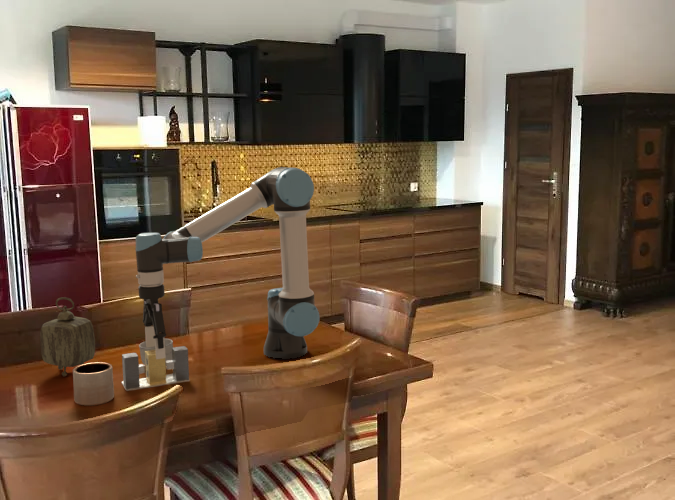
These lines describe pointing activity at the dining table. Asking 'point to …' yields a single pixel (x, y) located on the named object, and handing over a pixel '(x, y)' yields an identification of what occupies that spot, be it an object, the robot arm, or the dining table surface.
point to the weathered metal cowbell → (67, 340)
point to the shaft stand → (134, 369)
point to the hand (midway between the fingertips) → (155, 352)
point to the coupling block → (154, 368)
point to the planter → (93, 383)
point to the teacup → (143, 348)
